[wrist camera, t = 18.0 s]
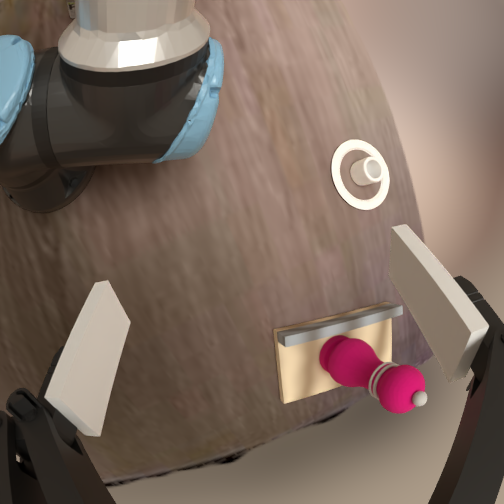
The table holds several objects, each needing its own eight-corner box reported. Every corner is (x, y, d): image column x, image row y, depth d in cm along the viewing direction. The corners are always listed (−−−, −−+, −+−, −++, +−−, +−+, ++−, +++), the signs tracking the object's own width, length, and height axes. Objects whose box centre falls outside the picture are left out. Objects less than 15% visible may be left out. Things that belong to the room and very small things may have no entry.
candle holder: (395, 171, 53) (410, 166, 49) (369, 224, 51) (385, 222, 47) (348, 127, 50) (362, 119, 46) (316, 179, 48) (330, 174, 44)
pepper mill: (354, 327, 48) (448, 362, 29) (355, 368, 48) (441, 414, 29) (314, 337, 46) (404, 383, 27) (316, 380, 46) (397, 439, 27)
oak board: (280, 399, 46) (291, 412, 42) (273, 329, 46) (284, 337, 42) (386, 364, 52) (401, 371, 48) (385, 301, 52) (402, 305, 47)
